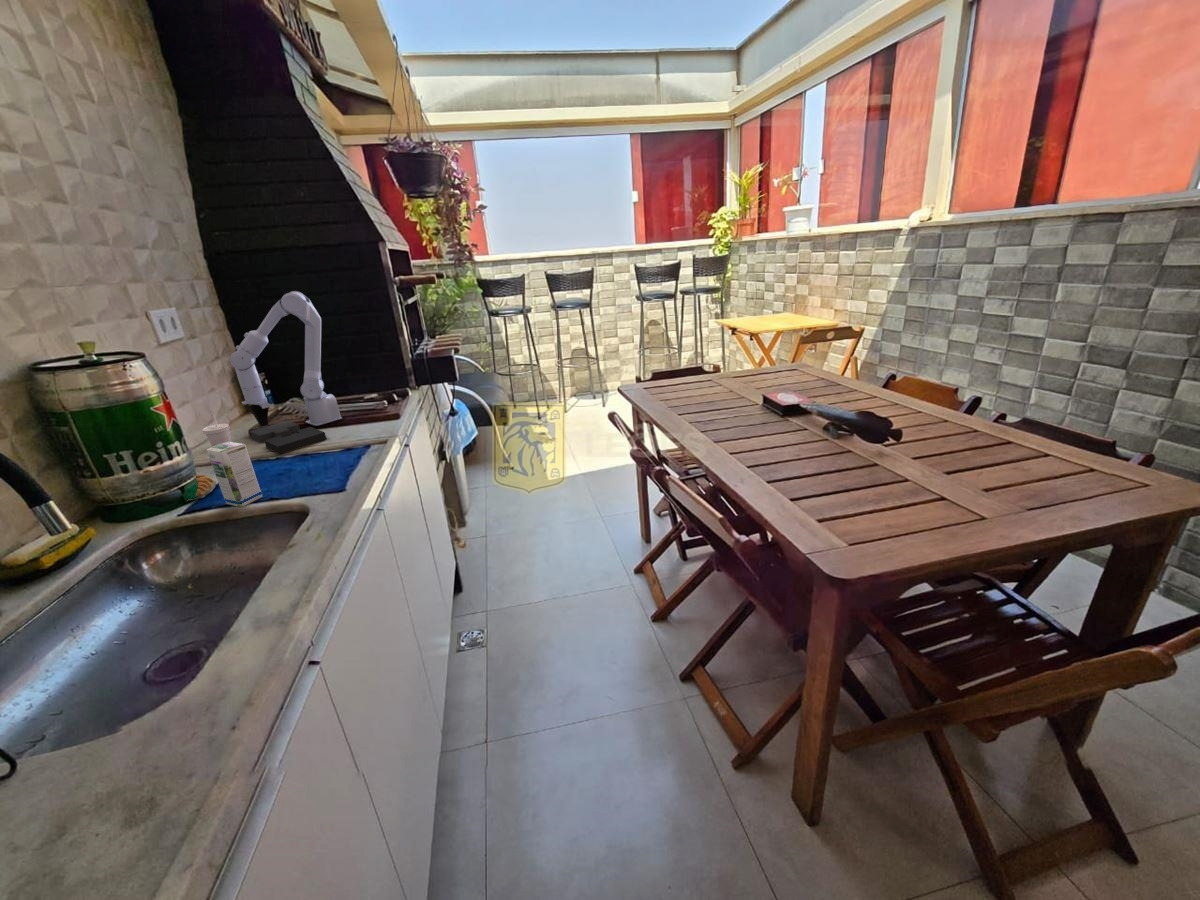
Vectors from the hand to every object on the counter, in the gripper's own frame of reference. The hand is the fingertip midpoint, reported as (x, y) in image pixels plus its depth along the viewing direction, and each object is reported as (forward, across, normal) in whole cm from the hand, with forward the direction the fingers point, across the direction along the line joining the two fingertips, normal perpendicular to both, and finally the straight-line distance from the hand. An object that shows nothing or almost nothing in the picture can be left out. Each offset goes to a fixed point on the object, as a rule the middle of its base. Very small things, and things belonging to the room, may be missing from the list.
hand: (264, 425), depth 167 cm
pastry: (+2, +39, -30) cm, 49 cm away
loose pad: (+2, +10, 0) cm, 10 cm away
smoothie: (+2, +17, -17) cm, 24 cm away
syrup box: (+2, +54, -25) cm, 59 cm away
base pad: (+2, +24, 0) cm, 24 cm away
